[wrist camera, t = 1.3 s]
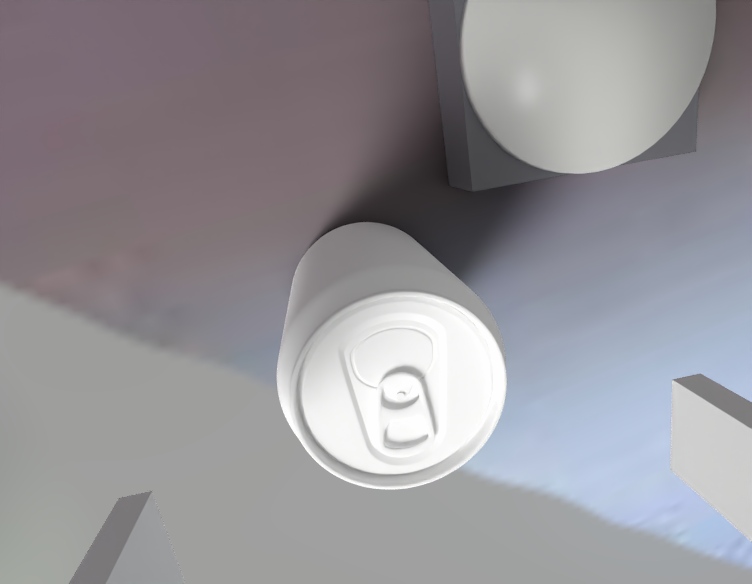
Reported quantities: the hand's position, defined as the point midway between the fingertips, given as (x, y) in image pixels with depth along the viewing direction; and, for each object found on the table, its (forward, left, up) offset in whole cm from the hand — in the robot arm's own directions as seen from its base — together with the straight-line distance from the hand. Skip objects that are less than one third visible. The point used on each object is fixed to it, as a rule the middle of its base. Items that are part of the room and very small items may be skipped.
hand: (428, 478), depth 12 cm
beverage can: (0, 0, -16) cm, 16 cm away
